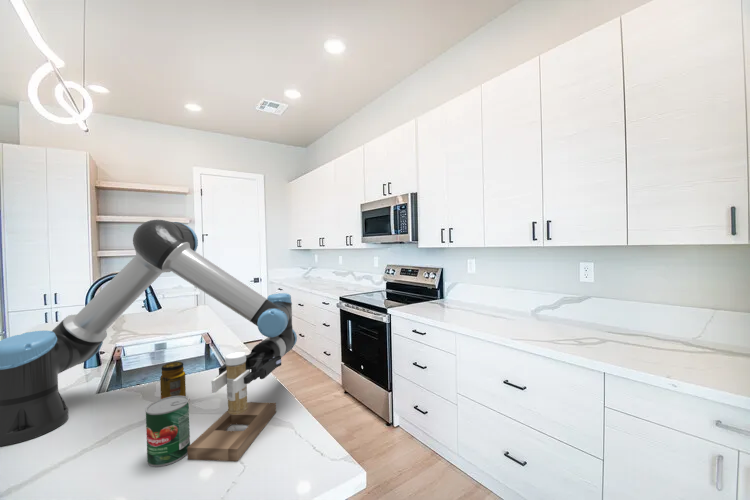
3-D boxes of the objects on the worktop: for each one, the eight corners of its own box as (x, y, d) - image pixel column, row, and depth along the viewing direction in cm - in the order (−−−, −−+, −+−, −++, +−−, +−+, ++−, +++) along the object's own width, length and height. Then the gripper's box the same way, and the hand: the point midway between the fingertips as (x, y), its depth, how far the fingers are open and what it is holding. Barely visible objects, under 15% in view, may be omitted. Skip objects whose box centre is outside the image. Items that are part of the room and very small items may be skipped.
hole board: (187, 459, 68) (187, 447, 68) (237, 411, 88) (236, 401, 88) (237, 461, 67) (237, 449, 67) (276, 411, 87) (275, 402, 87)
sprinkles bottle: (249, 411, 77) (247, 354, 77) (229, 417, 75) (227, 359, 75) (245, 403, 81) (243, 350, 81) (225, 409, 79) (223, 353, 78)
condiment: (190, 399, 96) (188, 358, 96) (184, 412, 89) (182, 368, 88) (161, 403, 94) (160, 362, 94) (152, 418, 86) (151, 373, 86)
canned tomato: (142, 471, 65) (140, 416, 65) (151, 449, 72) (150, 400, 72) (188, 460, 68) (186, 407, 68) (192, 440, 76) (190, 392, 75)
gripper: (297, 365, 95) (262, 404, 72) (240, 365, 97) (187, 403, 73) (296, 339, 95) (260, 370, 72) (239, 339, 96) (186, 369, 73)
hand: (224, 386), depth 72 cm, fingers closed on sprinkles bottle, 4 cm apart
